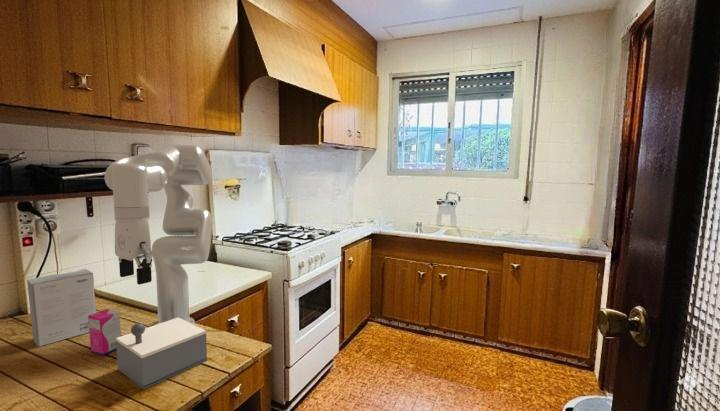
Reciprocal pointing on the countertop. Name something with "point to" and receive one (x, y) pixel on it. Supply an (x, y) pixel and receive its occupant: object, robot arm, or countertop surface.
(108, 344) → the supplement box
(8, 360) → the countertop surface
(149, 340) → the flap
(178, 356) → the grey storage box
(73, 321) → the hard drive box
